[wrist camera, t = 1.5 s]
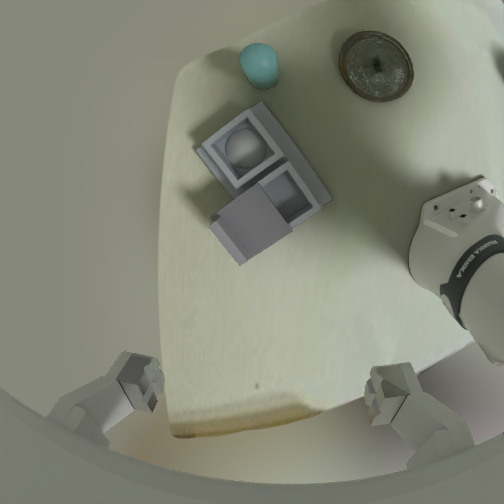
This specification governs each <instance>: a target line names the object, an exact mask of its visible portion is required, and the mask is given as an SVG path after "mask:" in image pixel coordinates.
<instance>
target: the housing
mask: <svg viewBox="0 0 504 504" xmlns="http://www.w3.org/2000/svg"><path fill="white" fill-rule="evenodd" d="M196 152H197V153H198V154H199V156H200V157H201V158H202V159H203V161H204V162H205V163H206V165H207V166H208V167H209V168H210V170H211V171H212V172H213V174H214V175H215V176H216V178H217V179H218V180H219V181H220V183H221V184H222V185H223V187H224V188H225V189H226V191H227V192H228V193H229V194H230V196H231V197H232V198H233V200H234V199H235V198H237V197H238V196H239V195H241V194H242V193H243V192H245V191H246V190H248V189H249V188H250V187H252V186H253V185H255V184H256V183H257V182H258V183H259V184H260V186H261V187H262V188H263V190H264V191H265V192H266V194H267V195H268V196H269V198H270V199H271V200H272V202H273V203H274V205H275V206H276V207H277V209H278V210H279V212H280V213H281V214H282V216H283V217H284V218H285V220H286V221H287V223H288V224H289V226H290V227H291V228H292V229H293V228H294V227H296V226H297V225H299V224H300V223H302V222H303V221H305V220H306V219H308V218H309V217H311V216H312V215H314V214H316V213H317V212H319V211H320V210H322V208H321V206H322V205H324V204H325V203H327V202H329V201H330V200H332V198H331V196H330V194H329V193H328V191H327V190H326V188H325V187H324V185H323V184H322V182H321V181H320V179H319V178H318V176H317V175H316V173H315V172H314V170H313V169H312V167H311V166H310V165H309V163H308V162H307V160H306V159H305V157H304V156H303V155H302V153H301V152H300V150H299V149H298V148H297V146H296V145H295V144H294V142H293V141H292V140H291V138H290V137H289V135H288V134H287V133H286V131H285V130H284V129H283V128H282V126H281V125H280V124H279V122H278V121H277V120H276V119H275V117H274V116H273V115H272V113H271V112H270V111H269V110H268V108H267V107H266V106H265V105H264V103H263V102H262V101H260V102H259V103H257V104H256V105H254V106H253V107H252V108H250V109H249V108H248V109H246V110H245V111H244V112H242V113H241V114H240V115H238V116H237V117H235V118H234V119H233V120H231V121H230V122H229V123H227V124H226V125H225V126H224V127H222V128H221V129H220V130H218V131H217V132H216V133H215V134H213V135H212V136H211V137H210V138H208V139H207V140H206V141H205V142H203V143H202V146H201V147H199V148H198V149H197V150H196Z"/></svg>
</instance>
